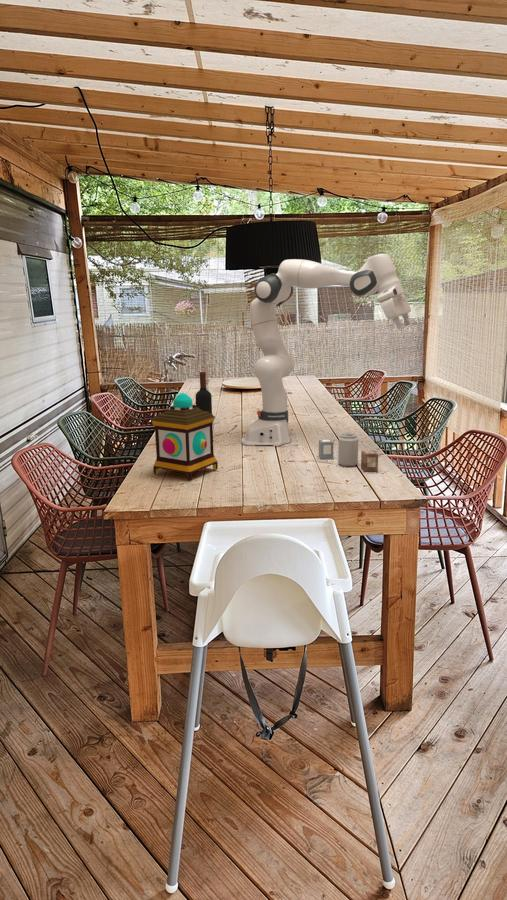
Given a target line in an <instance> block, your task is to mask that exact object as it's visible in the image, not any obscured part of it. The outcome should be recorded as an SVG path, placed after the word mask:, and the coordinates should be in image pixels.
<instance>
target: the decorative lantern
mask: <svg viewBox="0 0 507 900" xmlns="http://www.w3.org/2000/svg"><path fill="white" fill-rule="evenodd" d="M215 418H216V416H215V415H213V413H212V414H210V413H209V412H207V411H203V410H200V408H198V407H196V404H193V399H192V397H191V396H189V395H188V394H187V393H185V392H181V393H179V394H177V395H176V396H175V397H174V399H173V405H171V406H169V408H168V409H166V411H164V412H162V413H158V414H157V415H156V416H155V417H153V418H152V419H151V423H152V425H153V427H154V433H155V435H154V436H155V448H156V449H155V451H156V452H155V453H156V459H155V462H154V463H153V467H152V469H153V474H154V475H155V476H157V475H158V474H159V469H160V470H164V471H165V470H166V471H170V472H177V473H181V474H185V475H186V476H187V480H188V481H189V482H191V481H192V476H193V474H194V473H196V472H198V471H202V470H204V469H205V468H208V467H210V466H212V468H213V471H217V470H218V467H219V466H218V465H219V464H218V460H217V457H216V456H215V454H214V432H213V431H214V430H213V429H214V428H213V421H214V419H215Z"/></svg>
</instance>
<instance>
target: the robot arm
mask: <svg viewBox="0 0 507 900" xmlns="http://www.w3.org/2000/svg"><path fill="white" fill-rule="evenodd" d="M331 286H332V287H333V286H339V287H340V286H341V287H349V288H350V290H351V293H353V294H354V295H355V296H359V297H365V296H372V295H374V296H375V295H377V294H378V296H377V298H376V299H377V301H378V303H380V306H381V308H382V310H383V313H384V316H385V318H387V320H392V322H393V323H394V324H395V326H396V328H397V329H398V330H401V329H403V328H404V326H405V327H407V326H408V327H409V326H410V325H411V321H410V315H409V313H411V312H412V309H411V306H410V303H409V302H408V300H407V299H408V298H407V297H406V296H405V294H404V293H405V291H404V288H403V286H402V283H401V281H400V279H399V277H398V275H397V270H396V266H395V265H394V262H393V260H392V258H391V256H390V254H388V253H386V252H378V253H374V254H372V255H370V256H368V257H367V259H366V261H365V262H364V264H363V265H362V266H361V267H360V269H358V270H357V271H355V270H354V271H353V270H346V269H340V268H335V267H333V266H329V265H326V264H324V263H323V264H322V263H320V262H316V261H313V260H309V259H301V258H300V259H299V258H298V259H297V258H294V259H293V258H291V259H284V260H283V261H282V262H281V263H280V264H279V266H278V271H277V273H275V272H273V273H270V274H267V275H265V276H263V277H262V278H260V279H258V280H257V281H256V283H255V285H254V295H255V297H256V298H254V299H253V300H252V301H251V302H250V304H249V315H250V316H249V318H250V323H251V327H252V332H253V336H254V340H255V343H256V346H257V347H259V349H260V350H261V352H262V354H263V356H262V357H260V358H259V359H257V360H256V361H255V363H254V365H253V373H254V376H255V377H256V378H257V379H258V383H259V387H260V389H261V395H262V396H261V397H262V401H261V402H262V409H261V410H260V409H257V410H256V414H257V417H258V419H257V420H254V422H253V423H251V424H250V425H249V426H247V429H246V432H245V436H243V437H242V438H241V439H240V442H241V444H242V445H244V446H255V445H273V446H272V447H274V446H275V447H280V446H282V445H285V444H288V443H290V442H291V441H292V440H291V436H290V431H289V424H288V423H289V410H288V393H287V391H286V389H285V386H284V382H283V379H284V378H285V377H287V376H289V375H290V374H291V373H292V372H293V371H294V368H295V361H294V359H293V357H292V356H291V355H290V354H289V352H288V350H287V348H286V346H285V344H284V342H283V339H282V336H281V333H280V328H279V323H278V320H277V315H276V307H279V306H281V305H282V304H284V303H285V302H287V301H289V299H291V297H292V296H293V294H294V287H296V288H300V289H301V288H303V289H321V288H325V287H331ZM400 317H401V318H403V321H404V322H403V323H402V322H401V320H400Z"/></svg>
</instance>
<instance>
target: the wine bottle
mask: <svg viewBox="0 0 507 900" xmlns="http://www.w3.org/2000/svg"><path fill="white" fill-rule="evenodd" d="M212 399H213V398H212V393H211V392H210V390H209V391H208V390H207V389H206V372H204V371H200V372H199V390H198V391H197V392H196V393H195V405H196V407H198V408H200V410H203V411H207V412H209V413H210V414H213V401H212Z"/></svg>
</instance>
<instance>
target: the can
mask: <svg viewBox="0 0 507 900" xmlns="http://www.w3.org/2000/svg"><path fill="white" fill-rule="evenodd" d="M337 449H338V450H337V451H338V452H337V453H338V456H337V457H338V459H337V463H338V464H339V465H340V466H342V467H345V466H346V467H347V468H351V467H356V465H357V464H359V463H358V462H359V459H358V458H359V437H358V436H357V434H356V433H351V432H344V433H341V434H340V437H338V448H337Z"/></svg>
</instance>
